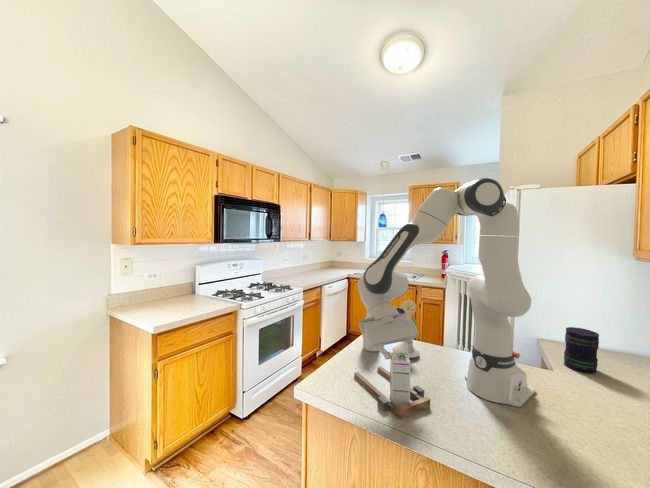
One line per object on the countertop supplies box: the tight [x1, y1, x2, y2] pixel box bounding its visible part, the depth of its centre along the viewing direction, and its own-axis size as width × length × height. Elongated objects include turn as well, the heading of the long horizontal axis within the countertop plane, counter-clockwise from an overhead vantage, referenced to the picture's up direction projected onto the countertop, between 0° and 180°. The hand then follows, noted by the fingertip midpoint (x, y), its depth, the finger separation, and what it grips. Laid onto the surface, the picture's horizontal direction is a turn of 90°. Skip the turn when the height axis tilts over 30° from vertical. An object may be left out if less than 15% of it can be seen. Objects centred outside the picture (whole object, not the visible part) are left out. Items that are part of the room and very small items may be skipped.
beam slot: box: [354, 365, 431, 420], centre depth 91 cm, size 16×24×2 cm, turn 26°
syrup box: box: [389, 352, 411, 407], centre depth 85 cm, size 6×6×14 cm
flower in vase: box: [392, 299, 420, 359], centre depth 117 cm, size 13×11×25 cm
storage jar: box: [563, 326, 600, 375], centre depth 109 cm, size 10×10×15 cm
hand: (400, 355), depth 86 cm, fingers open, 8 cm apart
